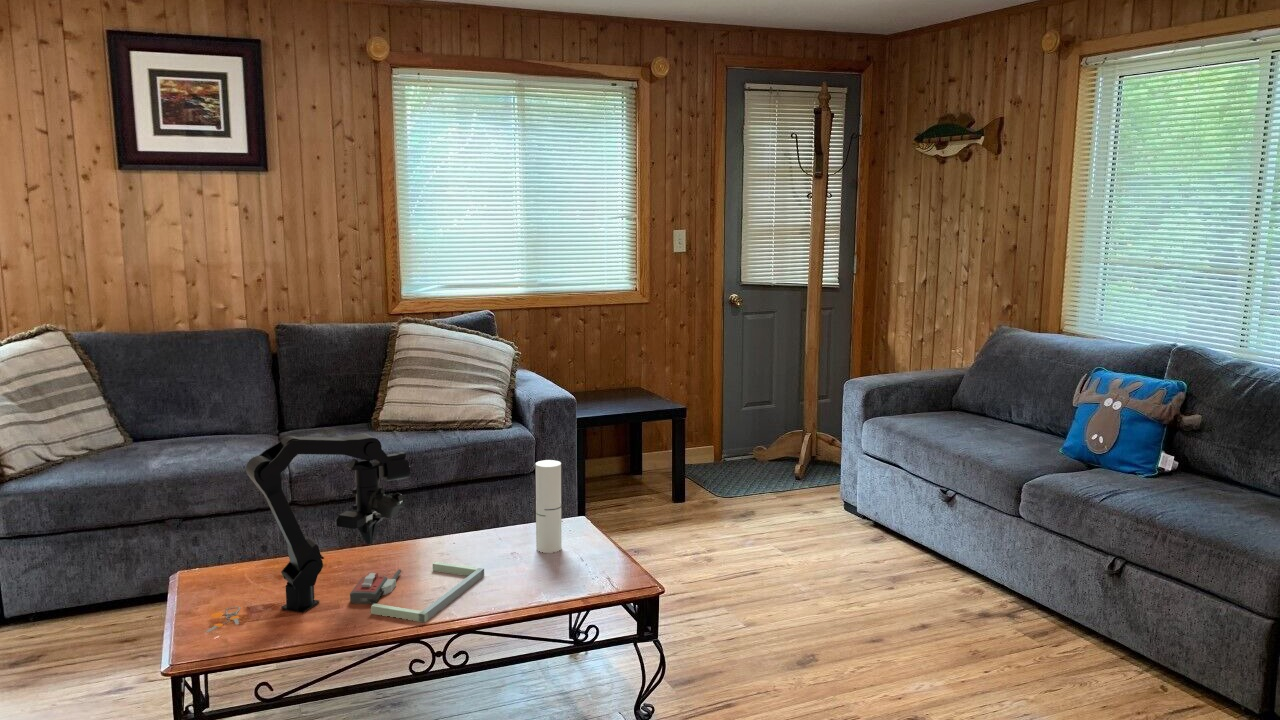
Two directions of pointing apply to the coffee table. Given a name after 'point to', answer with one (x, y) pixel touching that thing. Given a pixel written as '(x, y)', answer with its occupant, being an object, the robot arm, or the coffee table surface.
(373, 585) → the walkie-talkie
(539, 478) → the cylindrical container
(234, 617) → the key chain
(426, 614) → the green u-shaped bracket
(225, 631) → the coffee table surface
